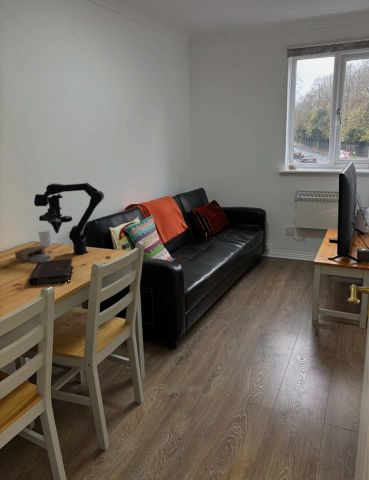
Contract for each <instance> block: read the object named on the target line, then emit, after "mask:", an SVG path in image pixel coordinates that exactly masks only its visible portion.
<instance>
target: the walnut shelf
mask: <svg viewBox="0 0 369 480" xmlns="http://www.w3.org/2000/svg"><path fill="white" fill-rule="evenodd" d="M45 249H46V247H44V246H41V245H36V244H34V245H31V246H28V247H26V248H23V249H19V250H16V251H14V257H15V261H16V262H19V263H28V262H29V260H28V255H30V254H33V253H34V254H43V255H46V250H45Z"/></svg>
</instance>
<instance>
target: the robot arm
mask: <svg viewBox="0 0 369 480" xmlns="http://www.w3.org/2000/svg"><path fill="white" fill-rule="evenodd" d="M45 188H46V190H45V192H44V193H43V194H42V193H41V194H39V193H37V194H35V195H34V200H33V203H34V206H35V207H47V206H49V207H48V208H47V211H46V212H45V213H44V214H42V215H39V217H38V220H39V222H47V223H48V224H50V225H51V226H52V228H53V231H54V232H55V234H58V233H59V231H60V229H61V226H62V225H63V223H69V222H73V217H72V215H64V216H63V214H62V213H61V210H62V206H60V205H61V204H60V199H62V198H63V197H64V196H63V195H61V193H63V192H65V193H66V192H78V191H84V192H85V193H86V194H87V195H88V197H90V200H89V204H88V206H87V208H86V209H85V211H84V213H83V215H82V217H81V218H80V220H79V222H78V223H77V225H73V226H72V227H71V229H70V231H69V232H68V234H69V235H68V238H69V240H71V243H72V244H73V251H72V255H84V254H86V253H89V251H88V250H87V243H86V240H87V236H85V235H84V234H83V233H84V230H85V227H86V226H87V223H88V221H89V220H90V218H91V216H92V215H93V213H94V211H95V209H96V208H97V207H98V206H99V205H100V203H101V202H102V201H103V200H104V199H105V195H104V194H105V193H104V192H103V191H100V190H98V189H97V188H96V187H94V186H92V185H91V184H90V183H89V182H84V183H83V182H81V183H70V184H69V183H68V184H61V183H51V184H50V183H49V184H48V185H47V186H46V187H45Z"/></svg>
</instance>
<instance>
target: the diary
mask: <svg viewBox="0 0 369 480" xmlns="http://www.w3.org/2000/svg"><path fill="white" fill-rule="evenodd" d="M72 262H73V258H62V259H59V258H58V259H49V260H47V261H42V262H36V265H35V267H34V269H33V270H32V273H31V275H30V276H29V279H28V285H29V287H32V285H34V286H35V287H36V285H37V286H41V285H59V284H58V283H61V284H60V285H63V284H62V283H65V282H67V283H65V284H69V282H70V283H71V281H69V282H68V280H72V275H73V274H74V273H73V269H74V265H73V263H72Z"/></svg>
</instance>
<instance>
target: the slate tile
mask: <svg viewBox="0 0 369 480" xmlns="http://www.w3.org/2000/svg"><path fill="white" fill-rule="evenodd" d="M51 257H52V256H51V255H50V254H45V255H43V254H34V253H33V254H30V255H28V260H29V261H30V263H37V262H42V261H50V260H52V259H51Z"/></svg>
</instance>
